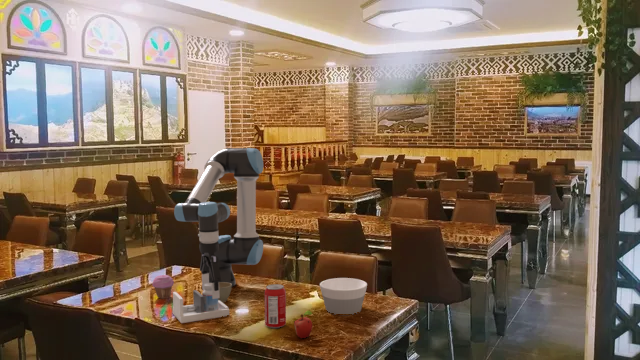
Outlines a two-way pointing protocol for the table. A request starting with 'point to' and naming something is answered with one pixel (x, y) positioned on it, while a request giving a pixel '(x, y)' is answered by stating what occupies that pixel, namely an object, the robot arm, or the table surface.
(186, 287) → the table surface
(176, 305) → the white open tray
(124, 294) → the table surface
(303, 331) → the apple
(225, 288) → the flower pot
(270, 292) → the soda can
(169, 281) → the cupcake
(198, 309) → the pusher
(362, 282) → the bowl
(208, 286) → the pill bottle
